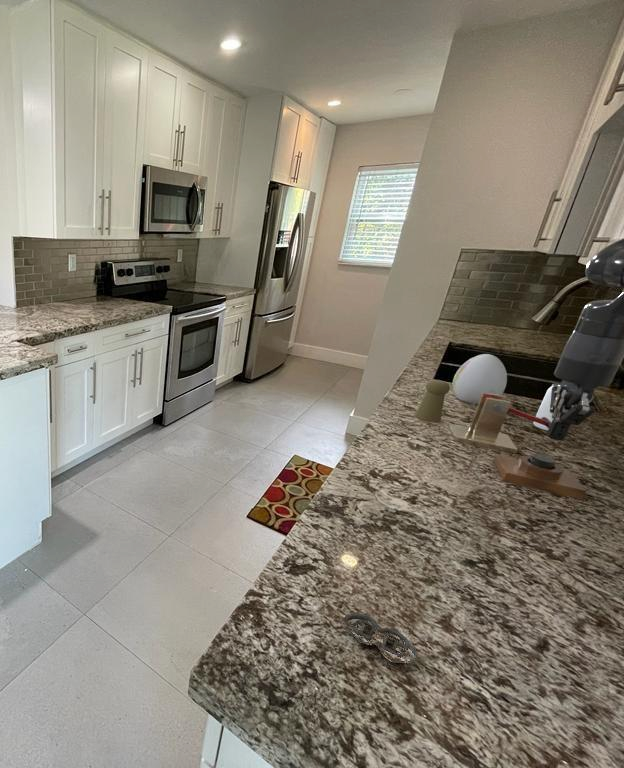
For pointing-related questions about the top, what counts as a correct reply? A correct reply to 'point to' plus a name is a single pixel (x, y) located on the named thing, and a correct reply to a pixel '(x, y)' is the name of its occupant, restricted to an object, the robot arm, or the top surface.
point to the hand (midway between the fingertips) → (554, 437)
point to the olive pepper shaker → (433, 401)
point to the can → (545, 409)
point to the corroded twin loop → (382, 630)
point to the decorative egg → (479, 378)
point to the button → (542, 461)
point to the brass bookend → (486, 425)
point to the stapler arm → (529, 416)
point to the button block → (538, 476)
